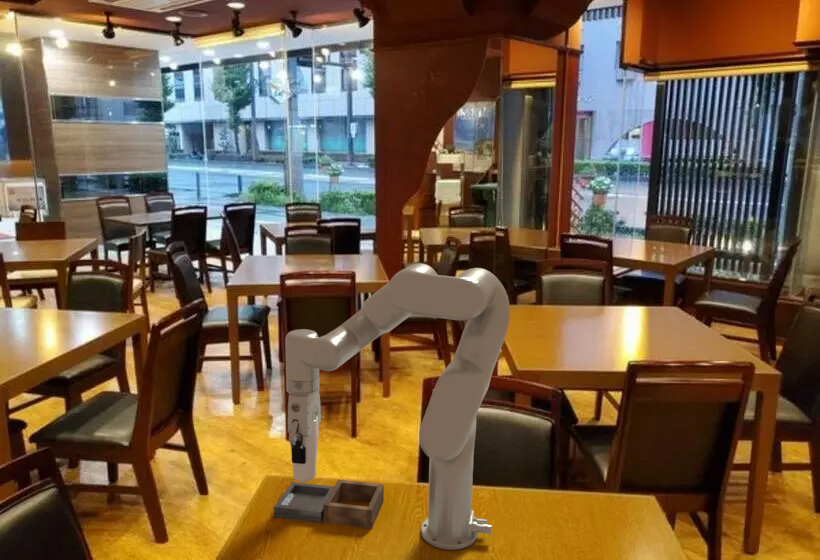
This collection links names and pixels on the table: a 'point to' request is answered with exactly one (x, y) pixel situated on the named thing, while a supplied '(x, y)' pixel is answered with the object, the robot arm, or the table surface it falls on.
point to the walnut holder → (354, 513)
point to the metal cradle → (303, 502)
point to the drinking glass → (308, 456)
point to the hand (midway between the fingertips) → (304, 455)
